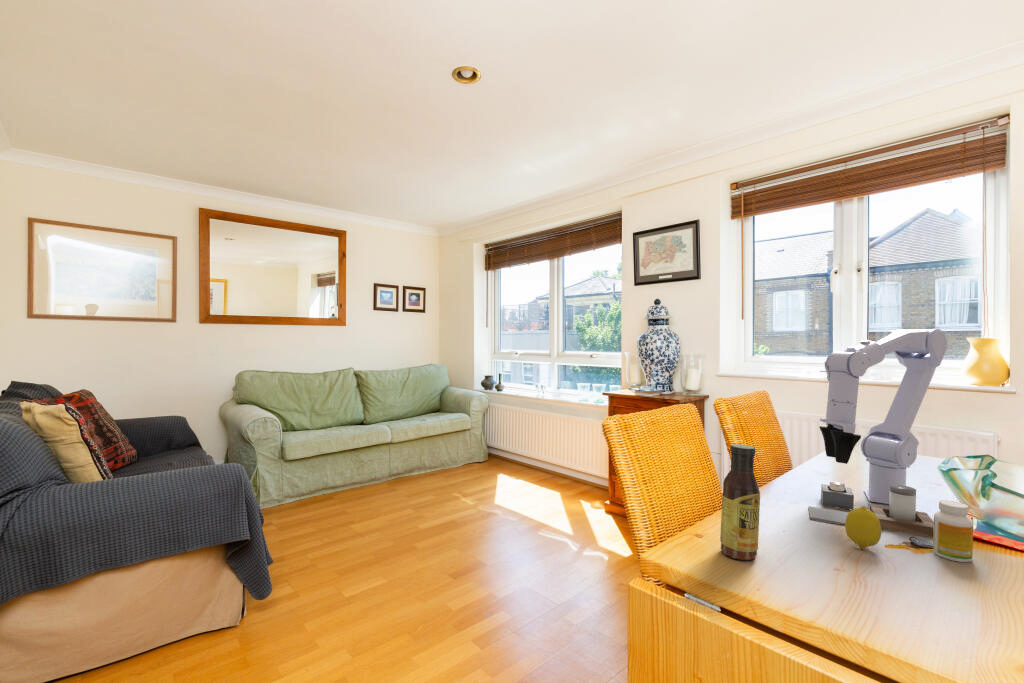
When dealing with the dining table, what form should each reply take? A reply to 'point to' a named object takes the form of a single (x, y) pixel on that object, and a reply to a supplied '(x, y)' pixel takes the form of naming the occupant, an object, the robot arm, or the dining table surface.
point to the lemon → (863, 527)
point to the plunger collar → (837, 497)
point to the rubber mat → (827, 515)
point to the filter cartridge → (902, 502)
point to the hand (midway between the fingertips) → (836, 459)
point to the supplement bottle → (953, 532)
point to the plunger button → (837, 486)
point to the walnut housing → (904, 522)
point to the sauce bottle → (740, 506)
